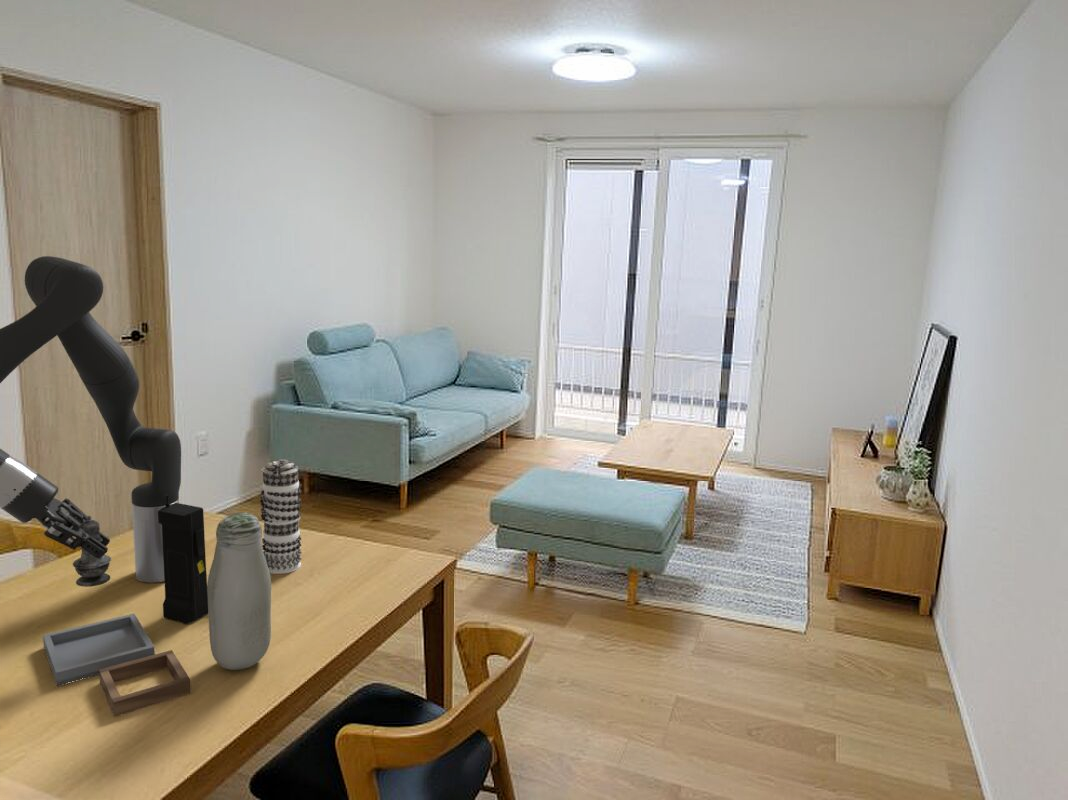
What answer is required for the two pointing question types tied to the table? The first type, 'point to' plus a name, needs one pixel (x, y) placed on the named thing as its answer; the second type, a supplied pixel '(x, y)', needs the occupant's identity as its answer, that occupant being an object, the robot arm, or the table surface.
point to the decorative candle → (281, 516)
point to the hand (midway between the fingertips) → (104, 549)
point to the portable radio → (184, 562)
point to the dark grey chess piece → (92, 560)
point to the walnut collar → (148, 695)
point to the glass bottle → (239, 594)
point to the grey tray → (95, 647)
